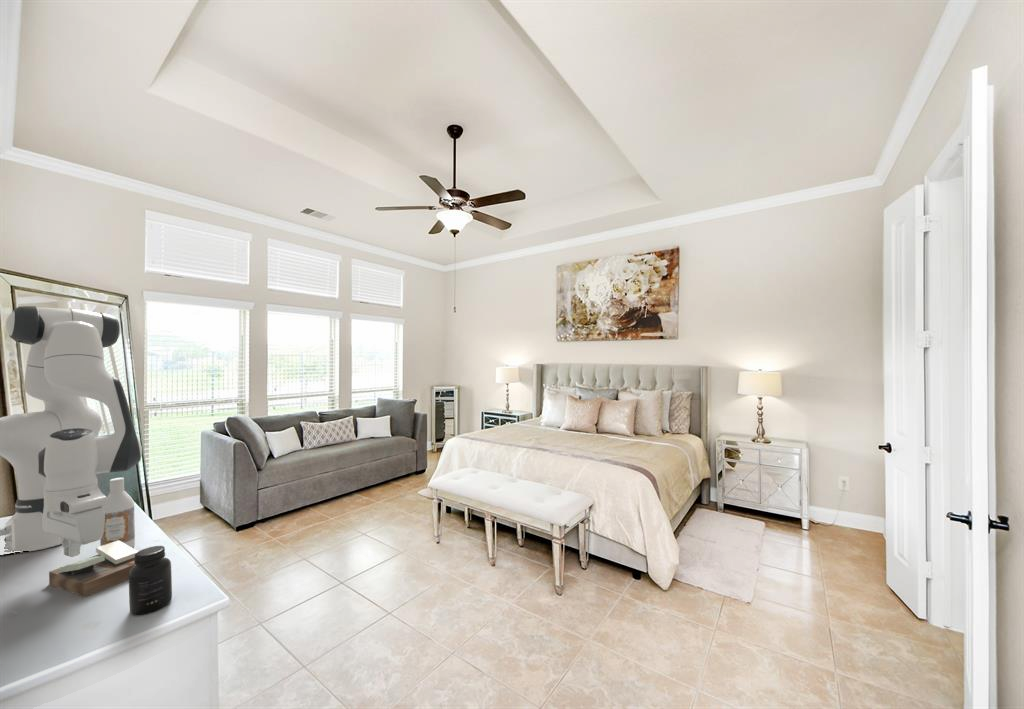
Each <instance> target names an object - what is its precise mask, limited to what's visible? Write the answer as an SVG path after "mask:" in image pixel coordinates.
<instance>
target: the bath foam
mask: <svg viewBox="0 0 1024 709" xmlns="http://www.w3.org/2000/svg"><path fill="white" fill-rule="evenodd" d="M106 497H107V504H106V505H104V506H102V507H103V508H104V511H105V522H104V533H103V536H102V538H101V539H100V540H99V543H100V545H99V546H103V545H106V544H109V543H112V542H115V541H118V540H119V541H121V542H123V543H124V544H126V545H128V546H130V547H131V548H134V546H135V545H136V543H135V542H136V537H135V536H136V534H135V532H136V530H135V528H136V526H135V502H134V499H133V497H132V496H131V495H130V494H129V493H128V492H127V491H126V490H125V477H115V478H111V479H110V480H109V493H108V495H107V496H106Z"/></svg>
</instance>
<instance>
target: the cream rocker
mask: <svg viewBox="0 0 1024 709" xmlns="http://www.w3.org/2000/svg"><path fill="white" fill-rule="evenodd" d="M138 551H139V550H137V549H135V548H134V547H132V548H131V547H130V546H128V545H126V544H124V543H123V542H121V541H119V540H118V541H115V542H112V543H109V544H106V545H103V546H101V545H99V546H97V547H95V553H96V554H97V555H99V554H100V555H101V556H103V555H104V558H106V559H108V560H109V561H111V562H113V563H114V564H118V563H121V562H124V561H126V560H129V559H132V558H134V557H135V554H136V553H137V552H138Z"/></svg>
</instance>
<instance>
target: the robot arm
mask: <svg viewBox="0 0 1024 709" xmlns="http://www.w3.org/2000/svg"><path fill="white" fill-rule="evenodd" d="M5 328H6V331H7V334H8V336H9V338H10V339H11V340H13V341H15V342H17V343H20V344H25V345H30V348H29V352H28V355H27V360H26V368H25V374H24V382H23V389H24V391H25V393H26V394H27V395H28V396H30V397H32V398H34V399H37V400H41V401H43V403H44V410H43V411H42V410H41V411H35V412H24V413H22V412H21V413H15V414H10V415H5V416H2V417H0V457H1V458H3V459H5V460H7V462H8V463H10V465H11V466H12V467H13V470H14V471H15V474H16V479H17V489H18V490H17V491H18V498H17V499H16V502H15V504H14V514H13V515H12V516H11V517H10V518H9V519H8V521H6V522H5V524H4V525H5V526H3V527H0V537H3V536H4V537H5V538H4V537H3V538H4V541H5V543H6V544H5V547H4V549H8V550H5V551H4V552H11V551H12V552H14V551H22V552H21V553H24V552H23V551H29V552H33V551H40V550H45V549H49V548H52V547H53V548H54V547H56V546H59V545H62V548H63V555H64V556H67V557H69V558H75V557H76V556H79V555H80V554H81V546H83V545H88V544H91V543H95V542H97V541H100V539H101V538H102V536H103V533H104V522H105V511H104V508H103V507H102V506H104V505H106V504H107V496H106V495H105V494H104V493H103V492H102V491H101V489H100V487H99V486H98V485H99V483H98V482H99V480H98V477H97V475H98V474H105V473H121V472H127V471H129V470H131V469H132V468H134V467H135V466H136V465H137V464H138V463H139V462H141V460H142V457H143V456H142V455H143V447H142V443H141V441H140V439H139V437H138V435H137V432H136V429H135V426H134V422H133V418H132V415H131V411H130V410H131V409H130V407H129V403H128V398H127V396H126V393H125V389H124V387H123V384H122V383H121V381H120V379H119V378H117V377H114V376H112V375H110V373H109V372H108V370H107V369H106V367H105V361H104V360H105V359H104V358H105V357H104V354H105V353H104V348H108V347H111V346H114V344H116V343H117V341H118V340H119V338H120V336H121V326H120V322H119V319H117V318H116V316H114V315H113V314H112V315H111V314H108V313H105V312H95V311H94V312H93V311H89V310H84V309H83V310H82V309H77V308H61V307H60V308H59V307H41V306H38V307H37V306H36V305H21V306H18V307H16V308H14V309H12V311H11V312H10V314H8V317H7V318H6V320H5ZM83 398H88V399H91V400H96V401H98V402H100V403H102V404H104V405H105V406H106V407H107V409H108V412H109V415H110V418H111V422H112V427H113V429H114V430H113V431H114V433H112V434H110V435H104V436H97V435H98V434H99V433H100V431H101V429H102V426H103V420H102V417H101V415H100V414H99V413H98V412H97V411H96V410H94V409H92V408H90V407H89V406H88V405H87V403H85V401H84V399H83ZM2 540H3V539H2Z"/></svg>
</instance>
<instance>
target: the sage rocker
mask: <svg viewBox="0 0 1024 709" xmlns="http://www.w3.org/2000/svg"><path fill="white" fill-rule="evenodd" d="M91 557H92V558H90V557H88V558H87V557H86V558H83V559H80V560H77V561H74V562H72V563H69V564H66V565H63V566H60V567H59V568H60V573H61V572H67V571H73V570H79V569H82V568H85V567H88V566H90V565H93V564H96V563H99V562H102V561H104V560H105V559H104V555H103V556H97V557H93V556H91Z"/></svg>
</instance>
